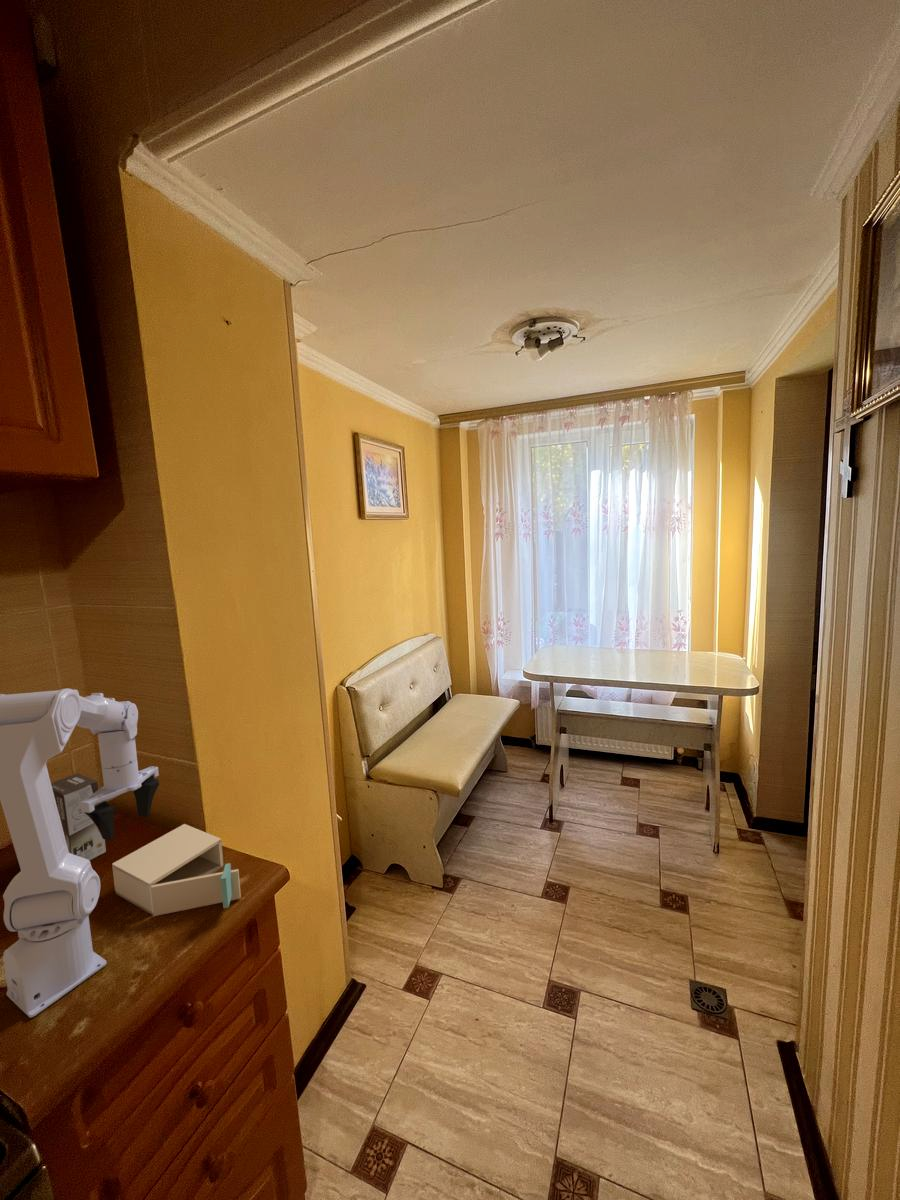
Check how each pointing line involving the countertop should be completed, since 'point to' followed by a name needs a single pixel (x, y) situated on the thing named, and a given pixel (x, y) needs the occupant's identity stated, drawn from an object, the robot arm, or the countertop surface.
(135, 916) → the countertop surface
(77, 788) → the coffee box
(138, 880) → the carton
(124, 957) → the countertop surface
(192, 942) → the countertop surface
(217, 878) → the flap
